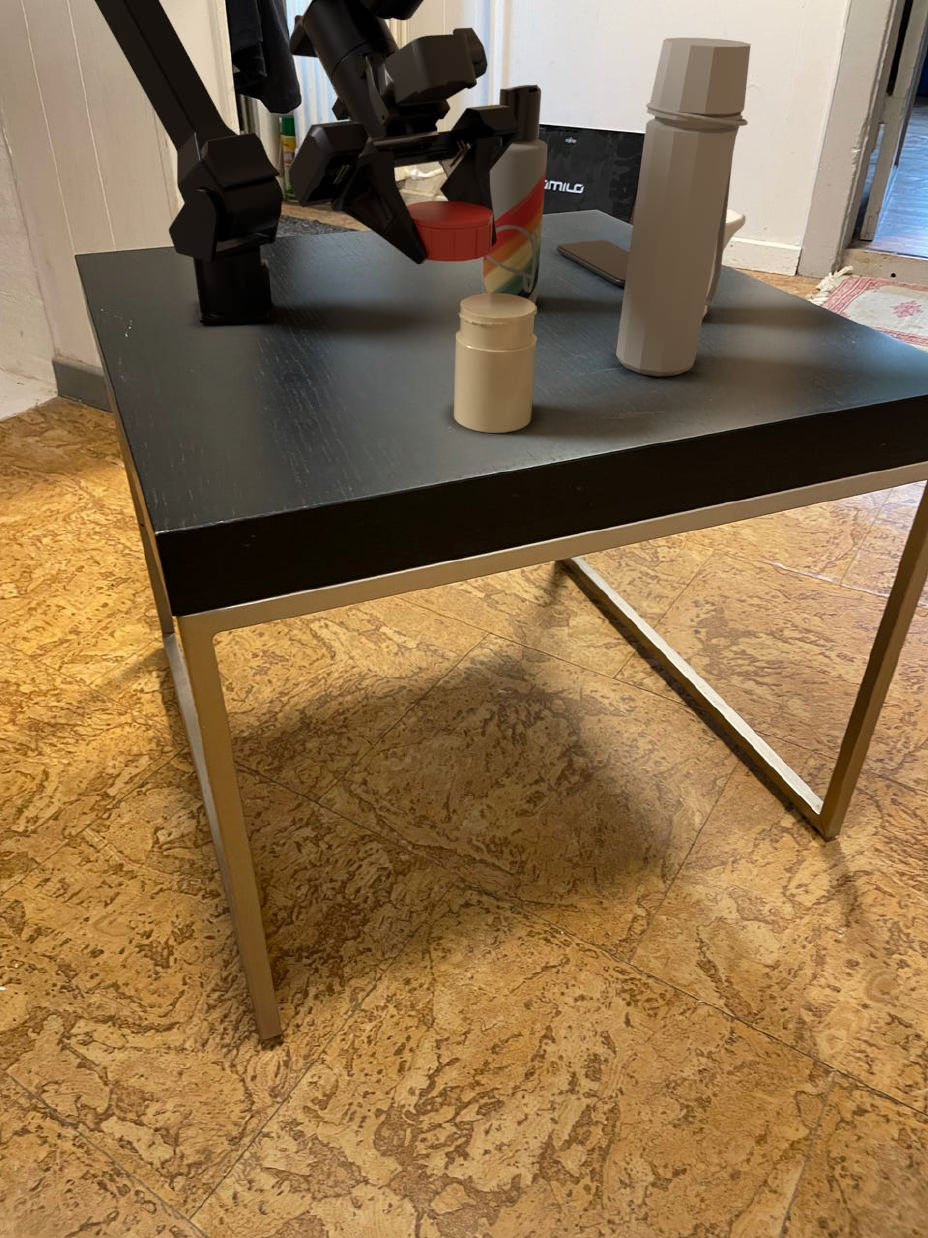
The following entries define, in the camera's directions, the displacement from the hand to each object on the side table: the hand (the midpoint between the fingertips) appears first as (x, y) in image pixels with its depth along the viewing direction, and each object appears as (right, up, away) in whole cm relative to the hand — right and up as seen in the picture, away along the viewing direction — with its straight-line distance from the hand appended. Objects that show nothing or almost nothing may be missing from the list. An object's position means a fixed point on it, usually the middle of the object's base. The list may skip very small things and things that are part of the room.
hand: (458, 253), depth 71 cm
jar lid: (-1, +2, -1) cm, 3 cm away
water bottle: (+19, -5, +15) cm, 24 cm away
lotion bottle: (+5, +5, +27) cm, 28 cm away
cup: (+23, +4, +26) cm, 35 cm away
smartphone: (+18, +13, +38) cm, 44 cm away
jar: (+3, -11, +4) cm, 12 cm away
